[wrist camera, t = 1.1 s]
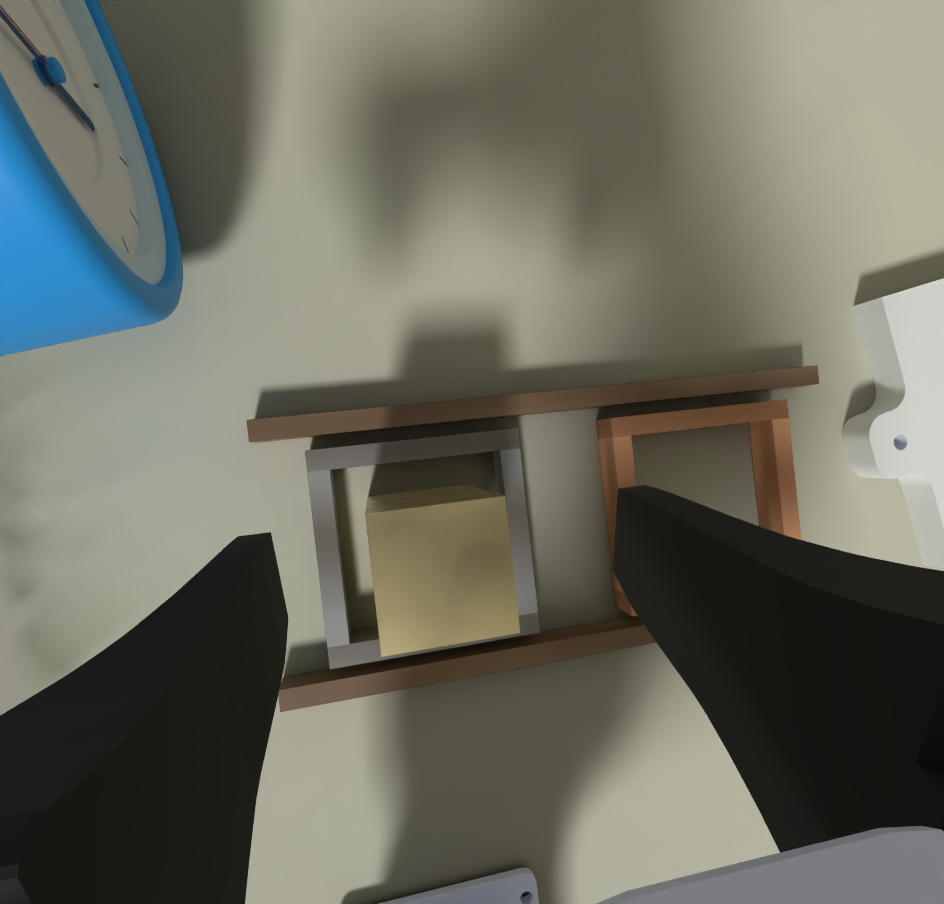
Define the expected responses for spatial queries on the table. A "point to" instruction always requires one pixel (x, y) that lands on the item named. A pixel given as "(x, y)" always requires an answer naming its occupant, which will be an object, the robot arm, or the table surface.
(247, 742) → the robot arm
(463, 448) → the socket rail
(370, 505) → the brass block
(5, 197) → the alarm clock
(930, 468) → the mounting plate
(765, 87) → the table surface
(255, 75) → the table surface
